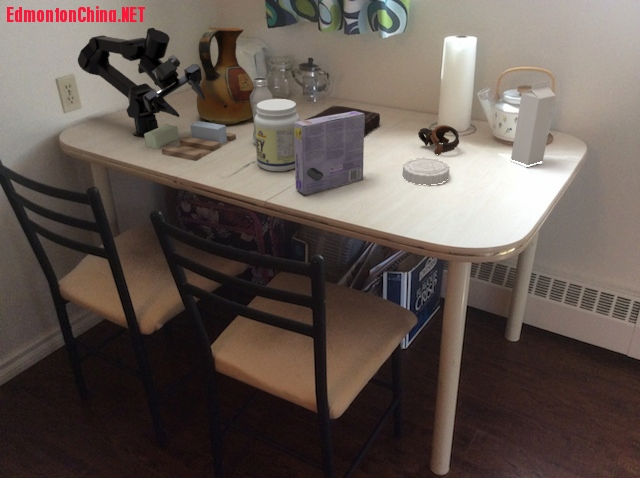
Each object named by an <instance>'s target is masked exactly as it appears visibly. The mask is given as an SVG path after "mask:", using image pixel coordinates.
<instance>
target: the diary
mask: <svg viewBox="0 0 640 478" xmlns="http://www.w3.org/2000/svg"><path fill="white" fill-rule="evenodd" d="M352 111H357V112H360V113H364V115H365V124H364V136H365V135H367V133H369V132H370V131H372V130H374V129H376V128H377V127H379V125H380V124H381V123H380V122H381V115H380V113H379V112H375V111H370V110H369V111H368V110H362V109H359V108H354V107H348V106H342V105H332V106H330V107H328V108H326V109H324V110H322V111H320V112H318V113H316V114H315V115H313V116H311V117H307V118H305V119H304V120H309V119H314V118H319V117H324V116H330V115H336V114H341V113H347V112H352ZM376 126H377V127H376ZM373 128H374V129H373Z"/></svg>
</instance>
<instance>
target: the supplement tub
mask: <svg viewBox="0 0 640 478" xmlns="http://www.w3.org/2000/svg"><path fill="white" fill-rule="evenodd" d="M297 121H301V117H300V115H299V114H298V113H297V103H296V101H293V100H290V99H283V98H273V99H270V100H264V101H261V102H259V103H258V104H257V114H256V116H255V118H254V119H253V125H254V124H255V138H256V145H255V152H256V162H257V164H258V166H259V167H260V168H262V169H263V170H266V171H271V172H285V171H290V170H293V169H294V170H295V143H294V122H297Z"/></svg>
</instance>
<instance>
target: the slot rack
mask: <svg viewBox="0 0 640 478" xmlns="http://www.w3.org/2000/svg"><path fill="white" fill-rule="evenodd" d="M226 134H227V142H226V143H224V144H222V145H220V142H215V141H210V140H204V139H199V138H193V137H192V136H186V137H184V138H181V139H180V140H179V145H178V146H175V147H172V146H165V147H163V148H161V154H162V155H164V156H165V155H166V156H170V157H175V158H179V159H185V160H189V161H195V162H197V161H198V160H200V159H202V158H204V157H206V156H208V155H210V154H211V153H213V152H214V151H217V150H219V149H221V148H222V147H224V146H226V145H228V144H230V143H231V142H234V141H235V140H236V139H237V135H236V133H232V132H227V131H226Z"/></svg>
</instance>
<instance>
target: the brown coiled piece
mask: <svg viewBox="0 0 640 478" xmlns="http://www.w3.org/2000/svg"><path fill="white" fill-rule="evenodd" d="M449 132H451V133H453V134H452V135H454V136H455V139H454V140H453V141H450V139H449V138H447V137H445V135H446V134H447V133H449ZM417 135H418V137H419V140H420V141H422V142H423V143H424V145H425V146H426V147H427V146H429V145H431V146H432V145H434V146H435V150H434V151H433V153H434V154H435V155H436V154H438V155H437V156H440V155H442V154H445V153H447V152H451V151H454V150H455V148H457V147H458V145H459V144H460V139H459V132H458V130H456V129H455V128H454V127H452V126H449V125H445V124H442V125H437V126H436V127H435V128H434V129H433V130H432V129H429V128H427V127H423V128H420V129H419V130H418V133H417ZM442 143H443V144H442Z"/></svg>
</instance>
